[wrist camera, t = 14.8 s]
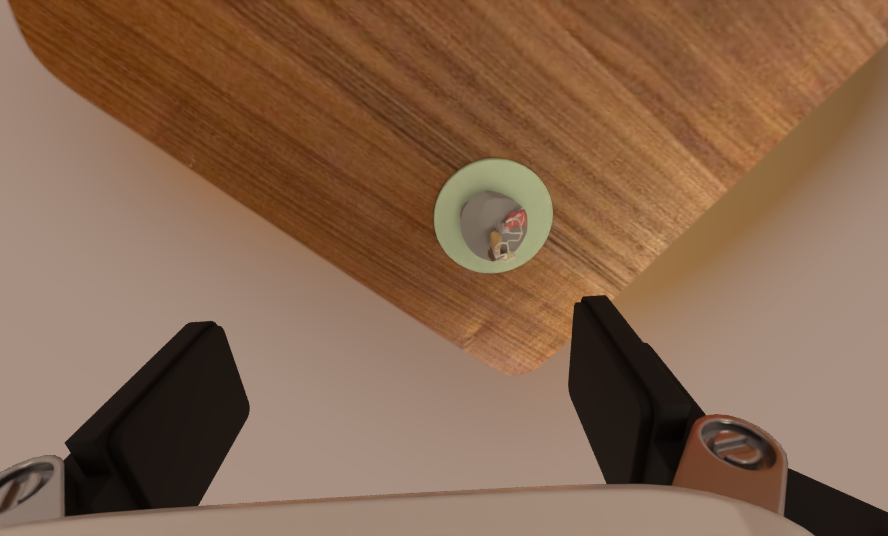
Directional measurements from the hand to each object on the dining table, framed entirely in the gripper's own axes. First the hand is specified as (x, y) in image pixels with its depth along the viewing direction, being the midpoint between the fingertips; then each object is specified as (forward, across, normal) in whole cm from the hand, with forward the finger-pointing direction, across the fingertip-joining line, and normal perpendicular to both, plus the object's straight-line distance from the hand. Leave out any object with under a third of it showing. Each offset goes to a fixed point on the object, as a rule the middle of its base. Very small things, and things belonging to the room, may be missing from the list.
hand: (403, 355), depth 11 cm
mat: (+19, -5, +3) cm, 20 cm away
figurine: (+19, -5, +3) cm, 20 cm away
